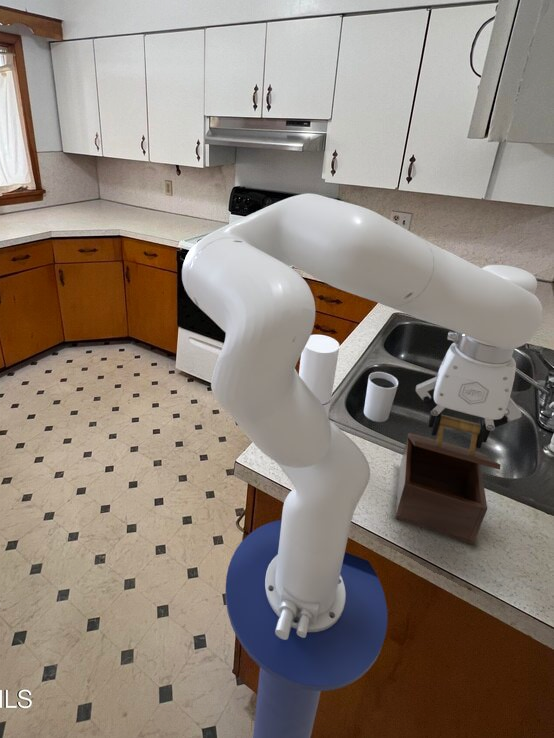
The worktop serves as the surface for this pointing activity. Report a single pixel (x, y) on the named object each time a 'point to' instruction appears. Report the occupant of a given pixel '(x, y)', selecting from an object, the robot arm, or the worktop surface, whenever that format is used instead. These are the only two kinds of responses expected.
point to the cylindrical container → (320, 367)
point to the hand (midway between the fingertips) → (454, 435)
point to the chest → (440, 493)
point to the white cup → (380, 396)
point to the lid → (453, 449)
